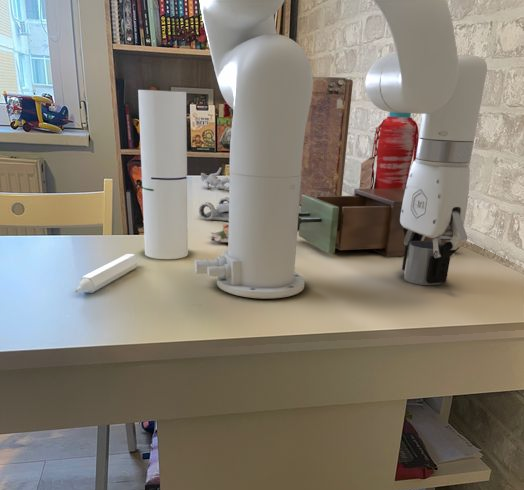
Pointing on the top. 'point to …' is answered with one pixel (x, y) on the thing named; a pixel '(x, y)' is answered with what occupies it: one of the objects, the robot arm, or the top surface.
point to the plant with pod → (225, 144)
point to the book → (326, 137)
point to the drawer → (344, 222)
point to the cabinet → (391, 219)
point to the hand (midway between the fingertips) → (423, 275)
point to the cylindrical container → (164, 172)
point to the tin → (418, 262)
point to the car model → (218, 210)
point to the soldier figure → (215, 180)
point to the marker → (107, 273)
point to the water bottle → (391, 153)
